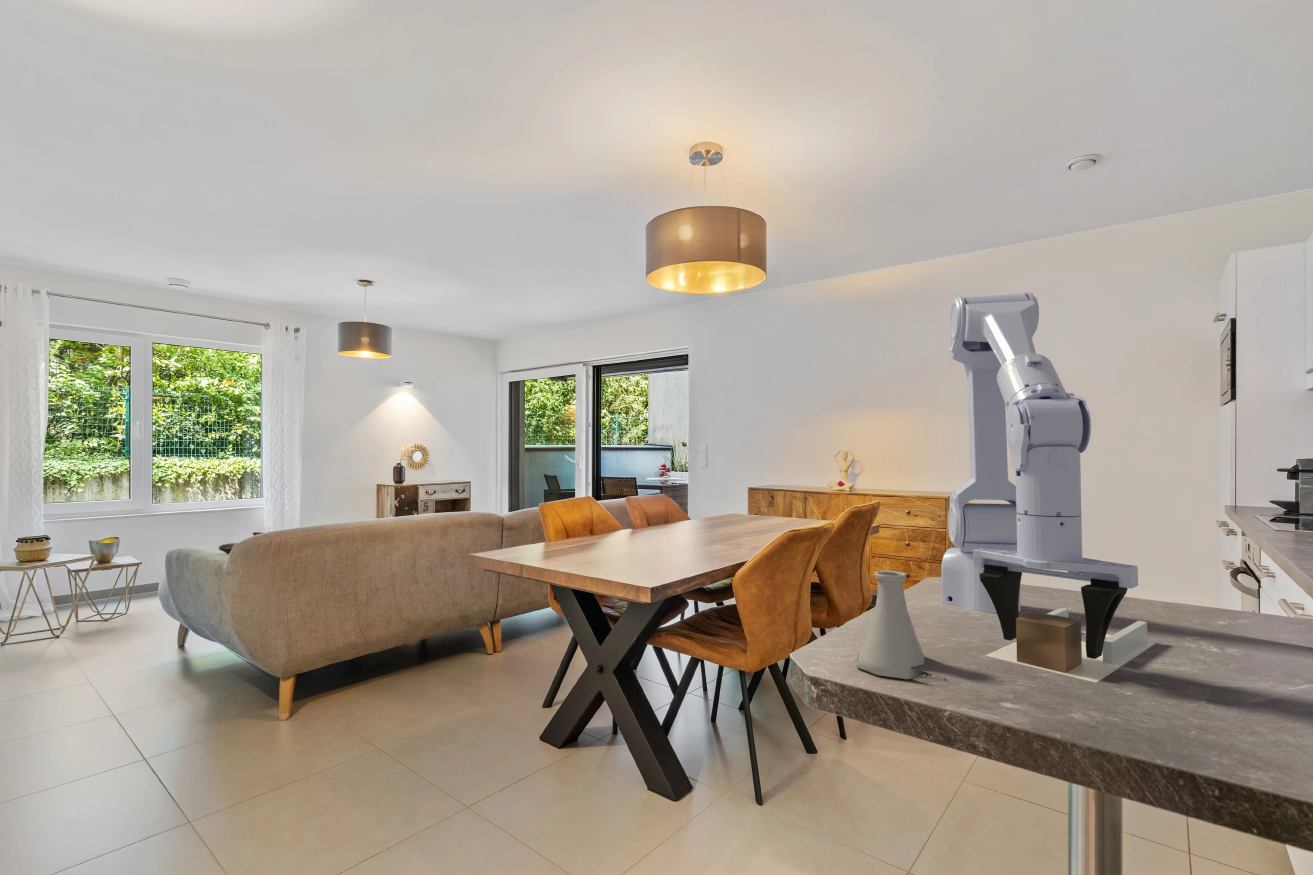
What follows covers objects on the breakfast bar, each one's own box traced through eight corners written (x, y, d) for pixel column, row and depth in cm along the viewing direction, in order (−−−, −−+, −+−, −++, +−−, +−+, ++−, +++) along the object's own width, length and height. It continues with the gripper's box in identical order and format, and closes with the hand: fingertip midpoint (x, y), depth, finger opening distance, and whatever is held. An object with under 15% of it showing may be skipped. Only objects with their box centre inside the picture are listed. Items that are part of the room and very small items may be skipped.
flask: (843, 669, 65) (842, 573, 66) (873, 653, 71) (871, 564, 71) (913, 686, 61) (912, 583, 61) (939, 667, 66) (938, 572, 66)
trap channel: (985, 666, 66) (984, 634, 66) (1055, 633, 78) (1054, 606, 78) (1096, 695, 58) (1095, 658, 58) (1155, 653, 70) (1154, 623, 70)
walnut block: (1016, 661, 64) (1016, 618, 64) (1034, 652, 67) (1033, 611, 67) (1065, 673, 61) (1064, 627, 61) (1081, 663, 63) (1080, 619, 63)
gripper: (959, 511, 68) (961, 637, 67) (1119, 523, 56) (1123, 674, 56) (988, 508, 72) (990, 626, 72) (1143, 517, 61) (1146, 658, 60)
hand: (1050, 646), depth 64 cm, fingers open, 7 cm apart
